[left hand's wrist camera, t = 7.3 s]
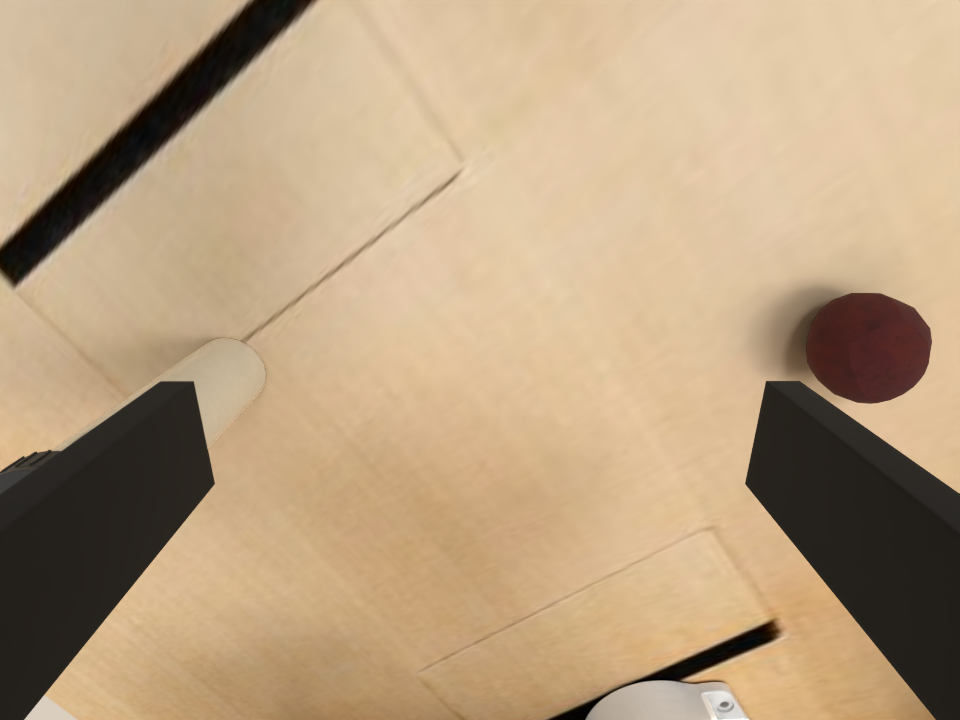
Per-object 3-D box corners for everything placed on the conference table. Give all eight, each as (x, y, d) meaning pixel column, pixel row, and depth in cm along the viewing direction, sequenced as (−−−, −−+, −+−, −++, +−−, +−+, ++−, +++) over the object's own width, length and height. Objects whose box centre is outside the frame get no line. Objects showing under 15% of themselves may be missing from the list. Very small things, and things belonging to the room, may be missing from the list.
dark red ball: (808, 394, 43) (867, 438, 36) (769, 316, 40) (825, 347, 34) (899, 345, 41) (979, 381, 35) (864, 261, 39) (942, 283, 32)
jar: (210, 409, 43) (28, 580, 26) (183, 345, 42) (-34, 484, 24) (276, 396, 43) (136, 561, 25) (251, 331, 41) (82, 462, 24)
